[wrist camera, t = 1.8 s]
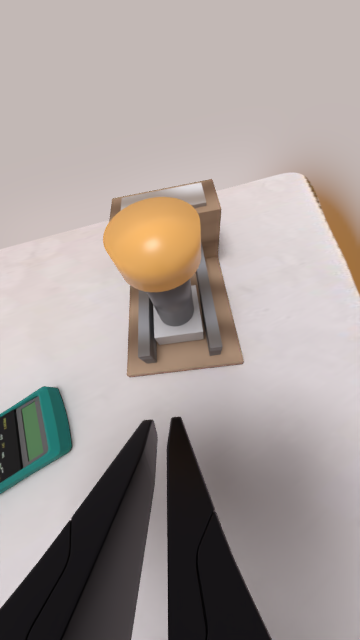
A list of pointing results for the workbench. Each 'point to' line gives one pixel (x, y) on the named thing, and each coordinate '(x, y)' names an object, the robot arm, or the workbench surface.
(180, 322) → the knob carriage
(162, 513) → the workbench surface
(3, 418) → the digital multimeter
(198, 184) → the knob mount
